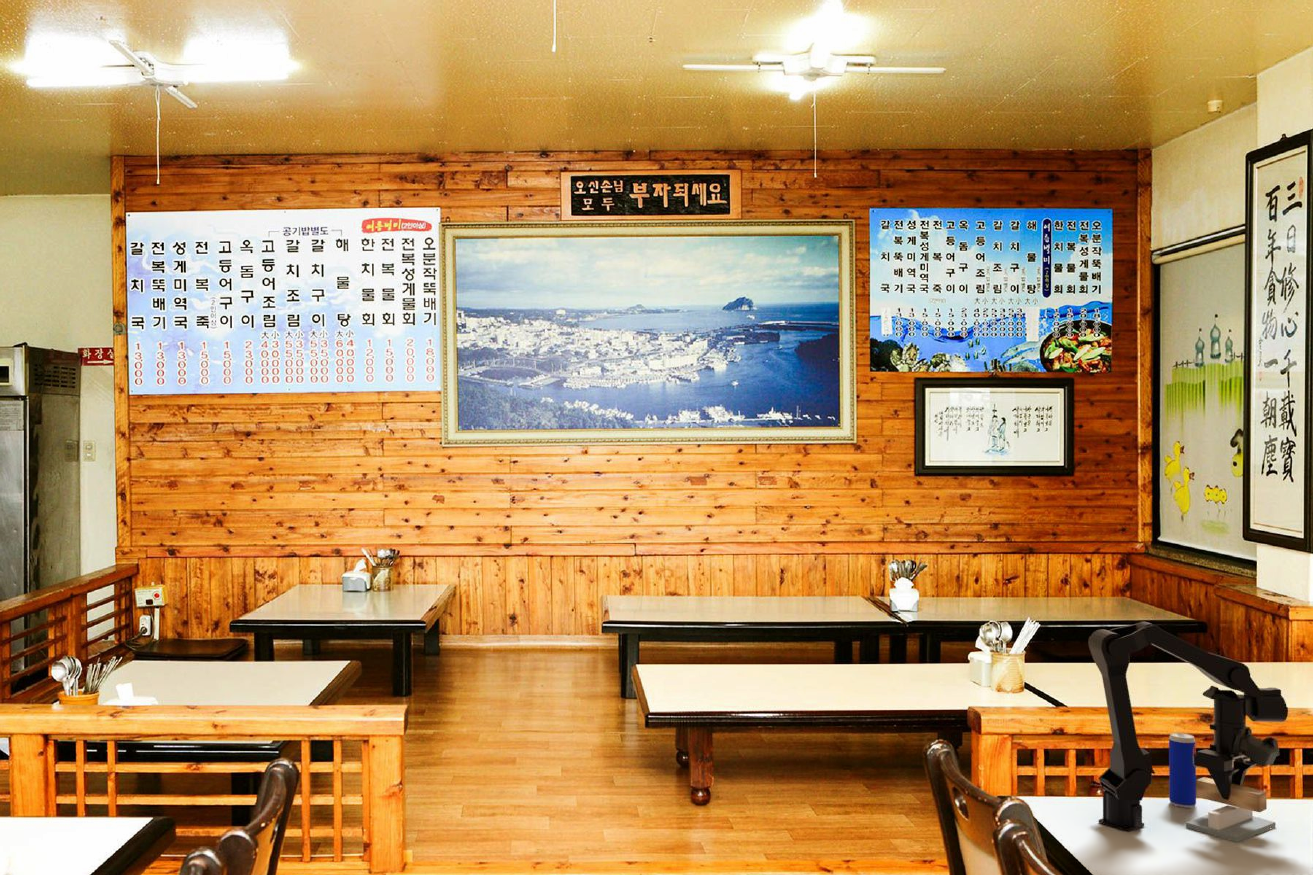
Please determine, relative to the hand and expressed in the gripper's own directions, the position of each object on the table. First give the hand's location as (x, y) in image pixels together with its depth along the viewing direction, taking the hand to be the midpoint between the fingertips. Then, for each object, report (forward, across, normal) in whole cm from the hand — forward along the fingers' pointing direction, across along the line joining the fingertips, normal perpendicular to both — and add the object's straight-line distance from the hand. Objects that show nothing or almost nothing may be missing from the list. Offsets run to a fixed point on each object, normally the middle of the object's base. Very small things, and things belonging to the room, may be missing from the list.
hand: (1230, 797), depth 205 cm
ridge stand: (+6, 0, 0) cm, 6 cm away
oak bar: (+1, 0, 0) cm, 1 cm away
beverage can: (+6, +6, +13) cm, 16 cm away
